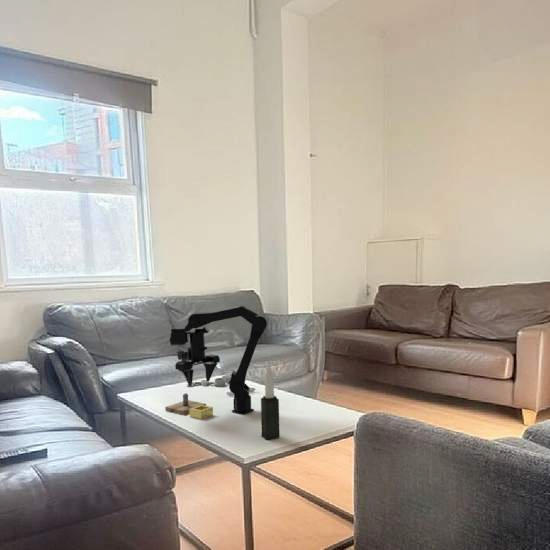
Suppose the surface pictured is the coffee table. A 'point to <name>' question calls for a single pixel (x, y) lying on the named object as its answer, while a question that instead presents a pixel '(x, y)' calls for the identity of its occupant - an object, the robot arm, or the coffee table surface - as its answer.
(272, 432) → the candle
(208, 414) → the brass square frame
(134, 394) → the coffee table surface
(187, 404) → the brown base plate
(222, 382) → the pulley system
